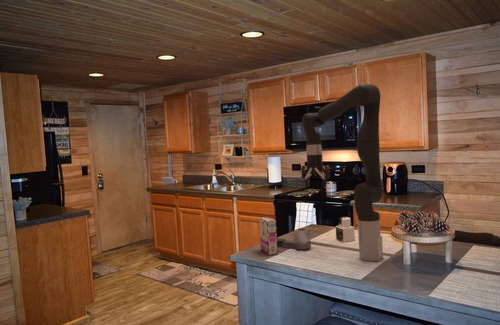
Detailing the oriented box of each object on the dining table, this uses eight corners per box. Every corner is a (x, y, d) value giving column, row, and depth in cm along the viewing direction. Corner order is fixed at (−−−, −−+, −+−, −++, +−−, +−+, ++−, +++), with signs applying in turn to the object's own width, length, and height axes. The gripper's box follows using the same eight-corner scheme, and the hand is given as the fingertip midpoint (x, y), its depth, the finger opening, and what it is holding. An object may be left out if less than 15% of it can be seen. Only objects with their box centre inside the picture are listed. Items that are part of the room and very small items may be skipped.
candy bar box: (278, 254, 181) (276, 220, 180) (268, 256, 179) (266, 221, 179) (270, 248, 192) (268, 216, 191) (260, 250, 190) (258, 217, 189)
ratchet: (313, 247, 189) (313, 232, 189) (306, 251, 182) (305, 236, 182) (275, 242, 202) (275, 228, 201) (267, 246, 195) (266, 232, 195)
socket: (300, 239, 192) (299, 227, 191) (310, 240, 188) (309, 228, 188) (294, 242, 187) (294, 230, 187) (305, 243, 184) (304, 231, 184)
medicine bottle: (335, 239, 202) (334, 216, 201) (347, 237, 204) (346, 215, 203) (343, 242, 195) (342, 219, 194) (355, 240, 197) (354, 217, 196)
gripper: (331, 152, 186) (332, 185, 187) (304, 153, 194) (306, 185, 195) (324, 153, 180) (326, 187, 181) (297, 154, 188) (299, 187, 189)
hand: (316, 186), depth 188 cm, fingers open, 8 cm apart
